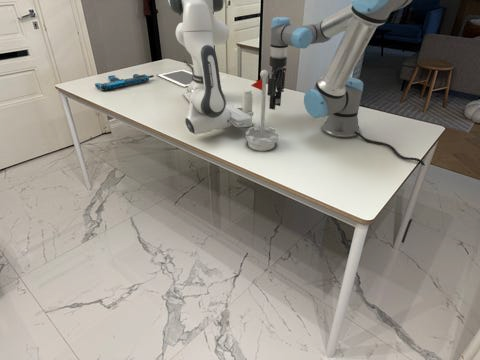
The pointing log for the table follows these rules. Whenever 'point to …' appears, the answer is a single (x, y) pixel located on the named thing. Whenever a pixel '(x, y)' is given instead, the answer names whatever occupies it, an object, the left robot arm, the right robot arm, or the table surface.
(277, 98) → the lid
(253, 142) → the flag stand
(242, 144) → the table surface
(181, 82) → the tablet
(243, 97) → the jar
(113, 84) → the submachine gun
